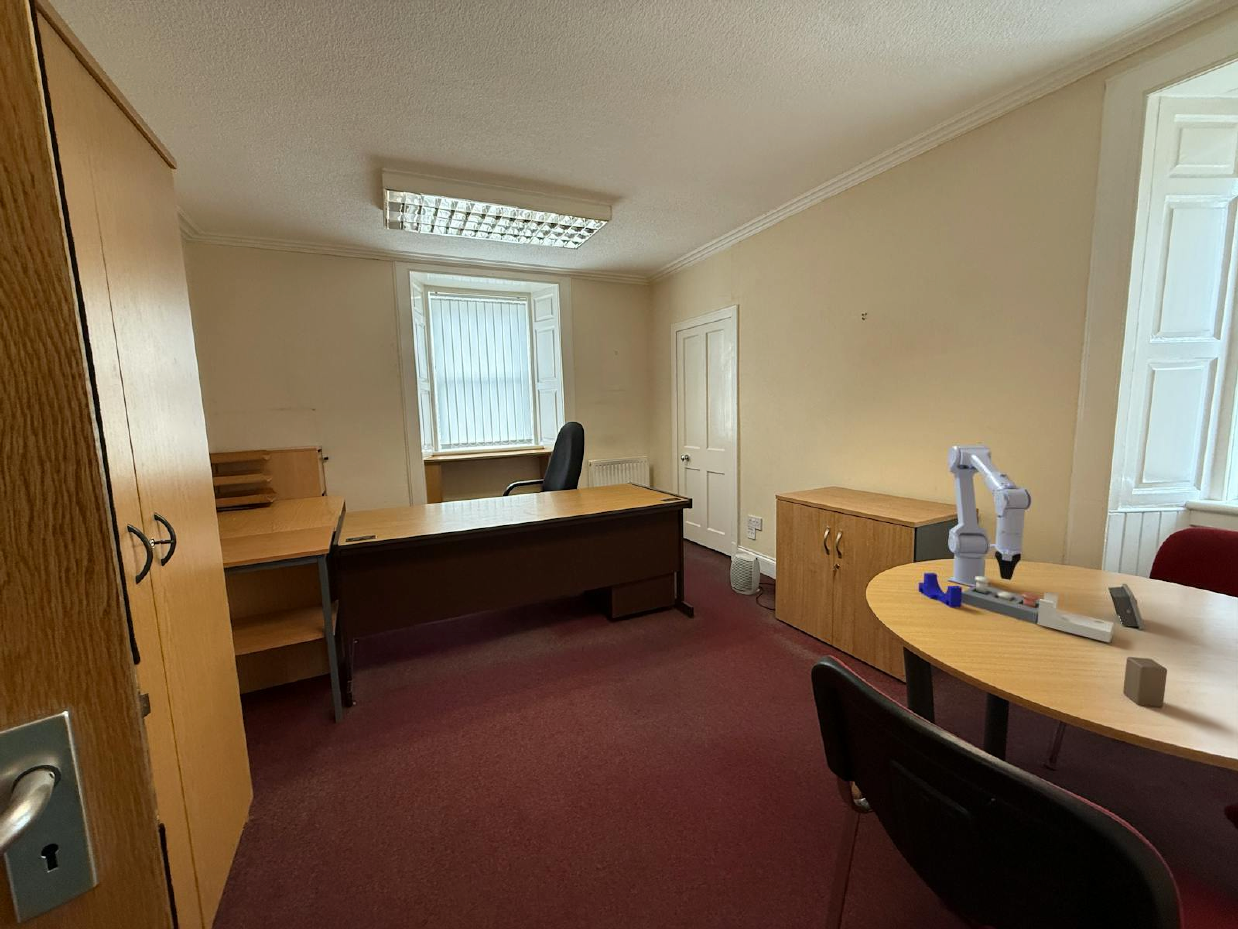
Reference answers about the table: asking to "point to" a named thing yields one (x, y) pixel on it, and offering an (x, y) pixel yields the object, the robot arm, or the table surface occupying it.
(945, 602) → the blue cradle holder
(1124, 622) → the electrical switch
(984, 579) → the cream plug near
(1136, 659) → the wooden block
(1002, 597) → the cream plug mid
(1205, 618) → the table surface
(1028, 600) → the red plug
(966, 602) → the socket strip
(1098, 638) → the bracket
